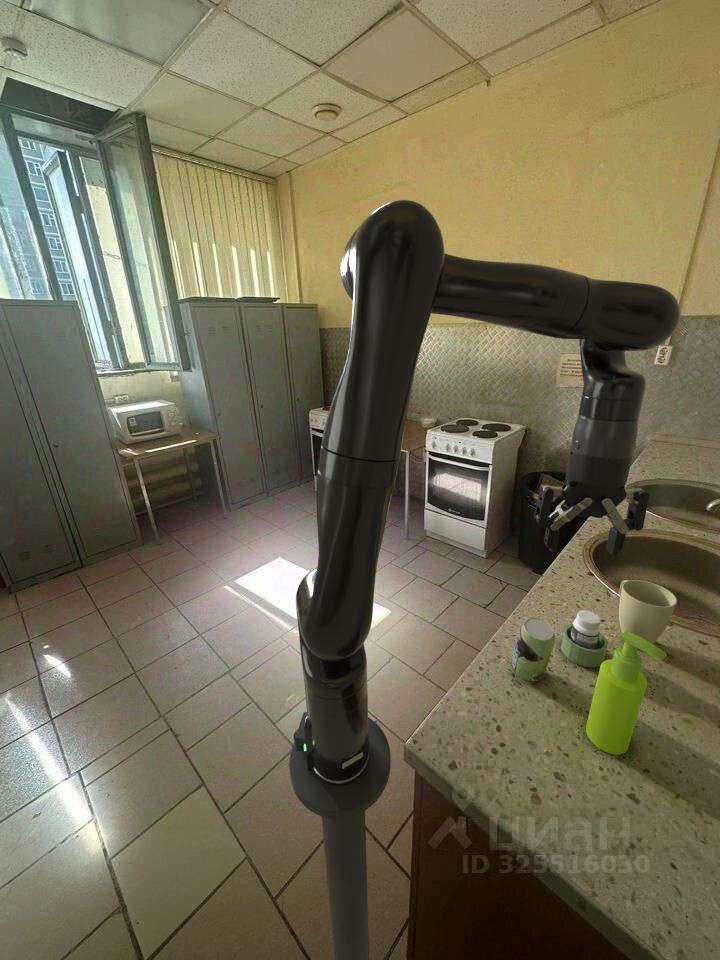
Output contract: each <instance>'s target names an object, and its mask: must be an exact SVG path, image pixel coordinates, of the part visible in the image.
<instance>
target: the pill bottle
mask: <svg viewBox="0 0 720 960" xmlns="http://www.w3.org/2000/svg"><path fill="white" fill-rule="evenodd" d="M572 624H573V626H572V631H571V636H570V640H571V641H572V642H573V643H575V644H577V645H579V646H580V647H583V648H586V649H592V650H596V647H597V643H598V638H599V634H600V633H601V627H600V626H601V618H600V616H599V615H598V614H597V613H595V612H593V611H590V610H584V609H583V610H579V611H578V612H577V614H576V618H575V619H574V620H573V623H572Z"/></svg>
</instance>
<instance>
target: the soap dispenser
mask: <svg viewBox="0 0 720 960" xmlns="http://www.w3.org/2000/svg"><path fill="white" fill-rule="evenodd" d="M618 640H621V641H623V645H622V646H623V647H618V648H616V649H615V650H614V652H613V656H612V658H611V659H604V661H603V662H602V664H601V665H600V666H599V671H598V675H597V679H596V683H595V687H594V691H593V696H592V700H591V704H590V708H589V712H588V715H587V716H588V717H587V721H586V725H585V732H586V735H587V737H588V739H589V740H590V742H591V743H592V744H593V745H594V746H596V748H597V749H600V750H601V751H603V752H605V753H607V754H611V755H615V756H618V755H619V756H620V755H624V754H625V753H626V752H627V751H628V749H629V747H630V742H631V739H632V736H633V732H634V729H635V727H636V723H637V719H638V716H639V713H640V711H641V707H642V703H643V701H644V697H645V693H646V690H647V687H648V680H647V678H646V676H645V675H644V674H643V673H642V671H641V667H642V664H643V659H642V657H641V656H640V654H639V653H638V650H640V651H642V652H644V653H645V654H646V655H648V656H650V657H651V658H653V660H655V661H657V662H662V661H663V660H664V659H665V658H666V657H667V656H668V654H667V653H666V652H665V651H664V650H663V649H661V648H659V647H658V646H656V645H655V644H654V643H653V644H652V643H650V642H649V641H647V640H645V639H643V638H641V637H639V636H637V635H635V634H633V633H631V632H629V631H627V630H626V631H625V632H623V633H622V632H621V633H620V635H619V636H618Z"/></svg>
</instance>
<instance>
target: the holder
mask: <svg viewBox="0 0 720 960" xmlns="http://www.w3.org/2000/svg"><path fill="white" fill-rule="evenodd" d="M572 626H573V623H571V624H568V625H566V627H564V629H563V634H562V639H561V645H560V648H561V652H562V653H563V655H564V656H565V657H566V658H567V659H568V660H569V661H571V662H573V663H574V664H576V665H579V666H581V667H585V668H598V667H600V666H601V664H602V662H604V661H605V658H606V654H607V650H608V639H606V637H605V635H604V634H602V633H601V632H600V634H599V638H598V643H597V647H596V650H592V649H586V648H583V647H580V646H579V645H577V644H575V643H573V642H572V641H571V640H570V636H571V631H572Z"/></svg>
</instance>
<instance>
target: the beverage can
mask: <svg viewBox="0 0 720 960" xmlns="http://www.w3.org/2000/svg"><path fill="white" fill-rule="evenodd" d="M555 642H556V635H555V632H554V629H553V627H552V626H551V624H550V623H548V622H547V621H545V619H541V618H538V617H529V618H527V619H526V620H525V621H523V622H522V623H521V624H520V625H519V628H518V632H517V636H516V640H515V644H514V648H513V652H512V656H511V660H510V664H511V665H510V666H511V668H512V670H513V671H514V673H515V674H516V675H517V676H518V677H519V678H521V679H522V680H525V681H528V682H539V681H541V680H542V679H543V678H544V677H545V673H546V672H547V671H546V670H547V667H548V664H549V662H550V659H551V655H552V652H553V649H554V647H555Z"/></svg>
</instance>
